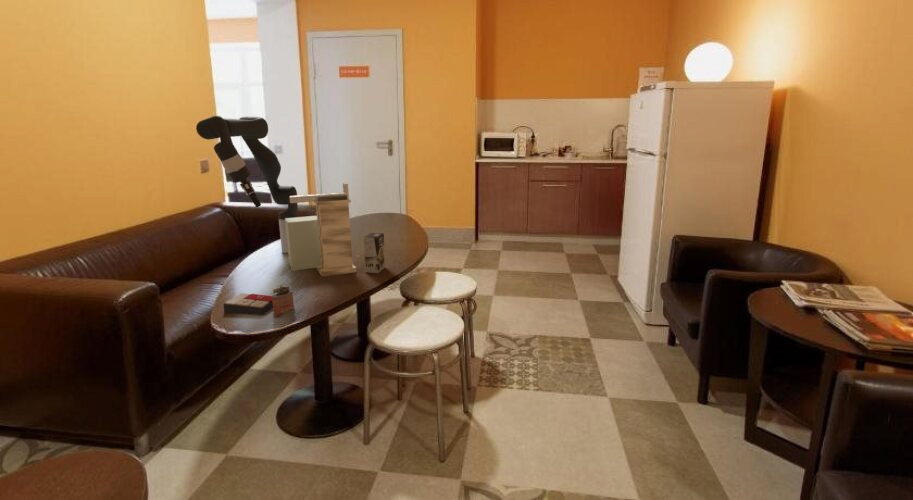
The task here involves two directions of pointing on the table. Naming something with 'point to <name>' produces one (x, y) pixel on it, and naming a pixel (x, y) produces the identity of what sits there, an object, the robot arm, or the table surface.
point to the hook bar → (318, 196)
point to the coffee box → (374, 252)
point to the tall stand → (334, 236)
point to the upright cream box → (303, 242)
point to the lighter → (282, 301)
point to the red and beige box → (249, 304)
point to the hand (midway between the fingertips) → (257, 203)
